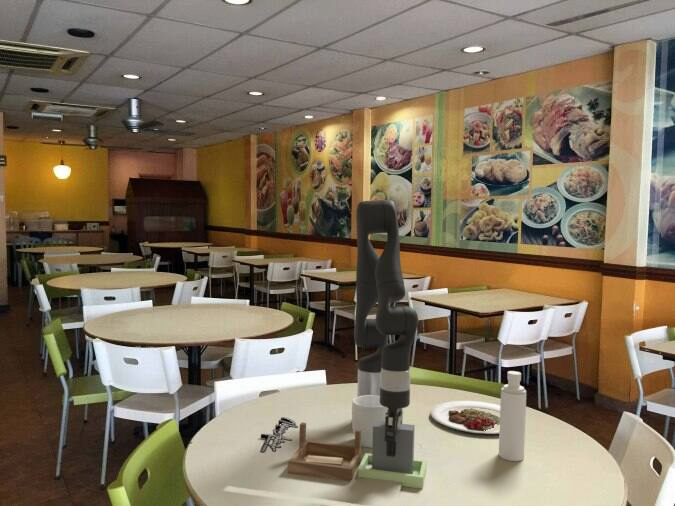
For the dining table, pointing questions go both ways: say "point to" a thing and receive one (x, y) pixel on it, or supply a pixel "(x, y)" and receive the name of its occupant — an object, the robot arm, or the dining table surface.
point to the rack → (313, 448)
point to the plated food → (467, 416)
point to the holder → (395, 473)
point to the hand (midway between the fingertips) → (393, 449)
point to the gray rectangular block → (403, 449)
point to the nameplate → (278, 434)
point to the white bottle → (512, 419)
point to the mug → (367, 416)
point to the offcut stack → (325, 460)
